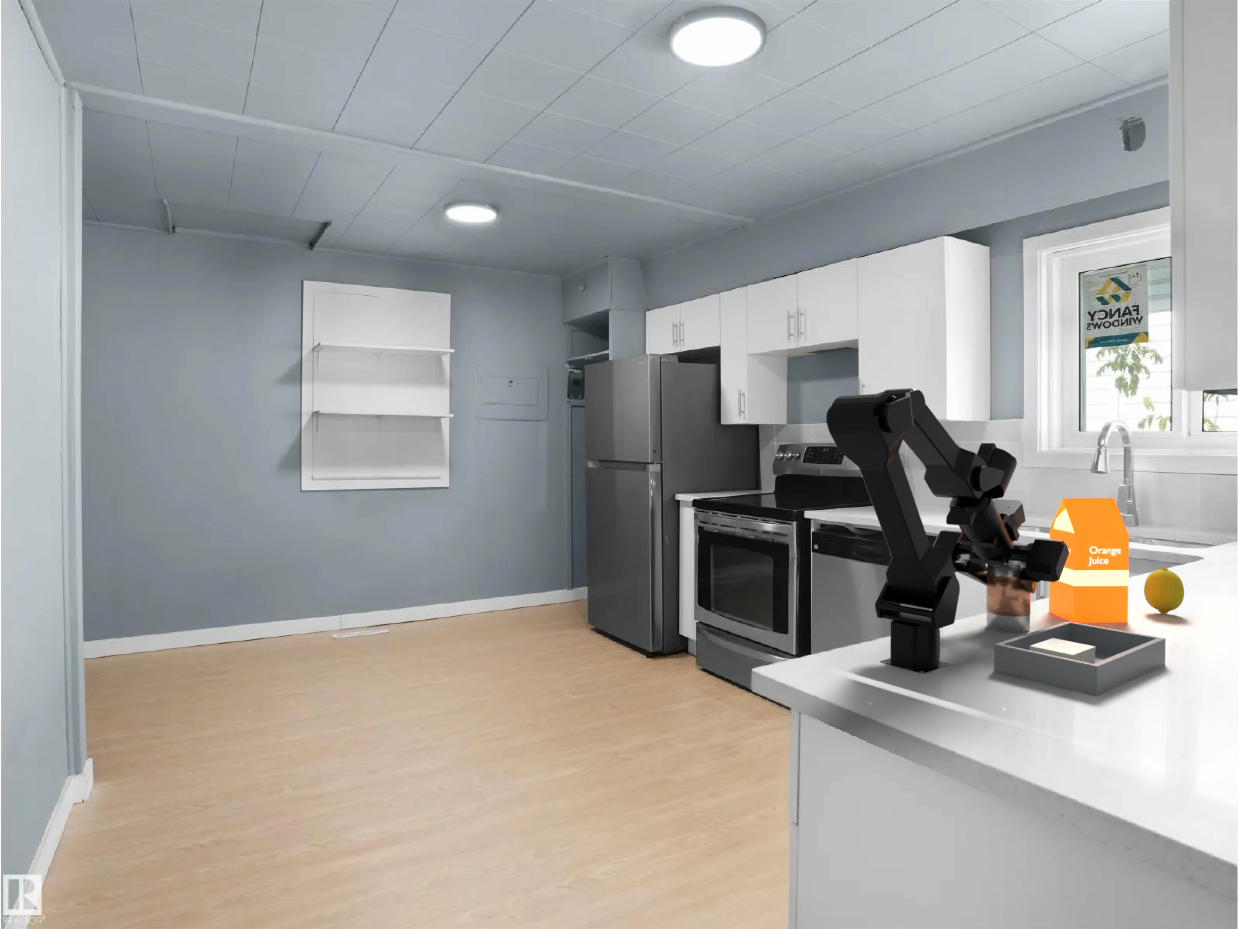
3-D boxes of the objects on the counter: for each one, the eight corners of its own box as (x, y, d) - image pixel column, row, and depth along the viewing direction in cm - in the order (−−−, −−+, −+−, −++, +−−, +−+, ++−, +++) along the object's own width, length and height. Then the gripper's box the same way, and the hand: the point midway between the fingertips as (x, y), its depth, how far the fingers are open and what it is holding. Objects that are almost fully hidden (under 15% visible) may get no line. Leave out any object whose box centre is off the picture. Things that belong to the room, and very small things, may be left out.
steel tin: (1017, 638, 115) (1018, 552, 114) (978, 630, 120) (979, 547, 119) (1037, 632, 118) (1038, 548, 118) (998, 624, 123) (999, 544, 123)
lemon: (1190, 618, 126) (1191, 570, 126) (1152, 617, 128) (1153, 569, 127) (1173, 611, 132) (1174, 565, 132) (1137, 610, 133) (1138, 564, 133)
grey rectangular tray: (1096, 701, 88) (1097, 666, 88) (994, 675, 98) (994, 644, 97) (1165, 669, 100) (1165, 638, 99) (1067, 648, 109) (1067, 621, 109)
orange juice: (1128, 622, 124) (1130, 499, 124) (1073, 622, 125) (1075, 500, 124) (1099, 611, 132) (1100, 496, 132) (1047, 611, 132) (1049, 496, 132)
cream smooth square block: (1072, 684, 92) (1073, 655, 92) (1029, 674, 96) (1029, 645, 96) (1095, 675, 95) (1095, 646, 95) (1052, 665, 99) (1052, 638, 99)
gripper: (1065, 485, 109) (1092, 554, 116) (938, 480, 123) (970, 542, 130) (1041, 545, 104) (1072, 614, 111) (913, 533, 118) (947, 594, 126)
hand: (1012, 587), depth 120 cm, fingers closed on steel tin, 6 cm apart
